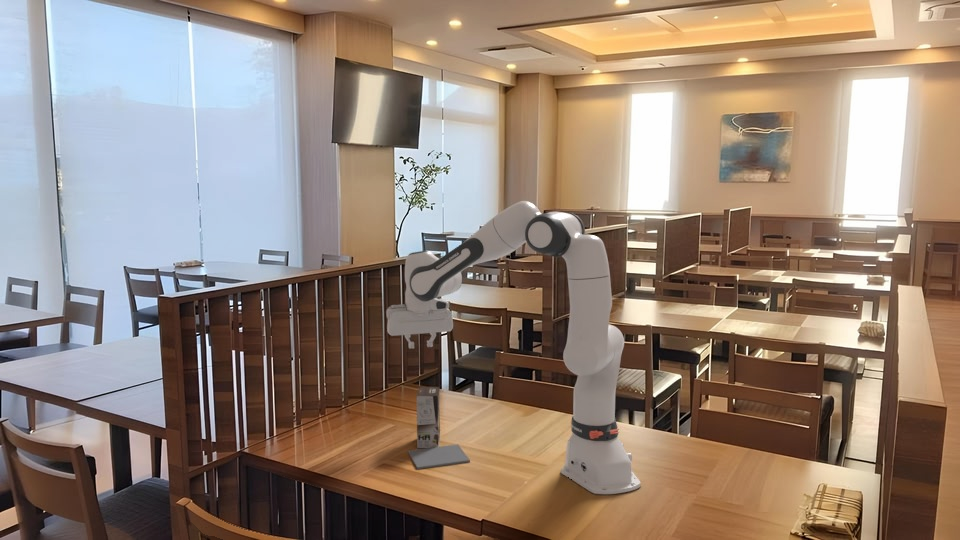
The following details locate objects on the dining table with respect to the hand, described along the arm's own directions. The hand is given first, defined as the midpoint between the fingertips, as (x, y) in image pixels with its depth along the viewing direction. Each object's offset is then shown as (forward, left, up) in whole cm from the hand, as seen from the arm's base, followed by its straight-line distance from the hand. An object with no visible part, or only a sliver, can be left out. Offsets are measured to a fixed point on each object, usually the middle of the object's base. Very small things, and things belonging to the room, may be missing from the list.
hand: (420, 347), depth 208 cm
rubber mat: (-21, 0, -27) cm, 34 cm away
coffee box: (-10, 0, -27) cm, 29 cm away
